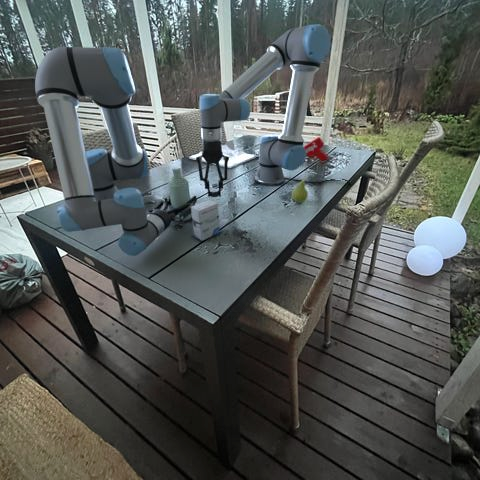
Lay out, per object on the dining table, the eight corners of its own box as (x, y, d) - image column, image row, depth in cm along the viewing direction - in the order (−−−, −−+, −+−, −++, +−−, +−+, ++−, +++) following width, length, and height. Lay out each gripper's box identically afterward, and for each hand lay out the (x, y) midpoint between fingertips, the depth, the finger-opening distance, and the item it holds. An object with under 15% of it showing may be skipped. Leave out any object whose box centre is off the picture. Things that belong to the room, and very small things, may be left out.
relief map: (230, 168, 162) (230, 159, 159) (189, 158, 180) (188, 150, 177) (256, 157, 180) (256, 149, 177) (216, 149, 198) (215, 142, 195)
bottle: (195, 213, 113) (189, 166, 102) (187, 222, 107) (181, 172, 96) (178, 211, 114) (171, 164, 104) (170, 219, 108) (162, 170, 98)
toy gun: (332, 156, 168) (319, 135, 164) (331, 158, 165) (319, 137, 161) (306, 172, 178) (294, 152, 174) (305, 174, 175) (293, 154, 171)
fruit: (288, 200, 123) (290, 174, 116) (302, 197, 125) (305, 172, 119) (296, 206, 118) (299, 179, 111) (310, 203, 120) (314, 177, 114)
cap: (207, 195, 117) (207, 191, 116) (213, 192, 120) (213, 187, 119) (215, 197, 115) (215, 192, 114) (221, 194, 118) (220, 189, 117)
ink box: (211, 227, 103) (209, 198, 96) (220, 232, 100) (219, 203, 93) (193, 236, 98) (190, 206, 91) (202, 241, 95) (199, 210, 88)
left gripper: (132, 228, 97) (166, 202, 116) (183, 237, 92) (210, 208, 110) (128, 209, 93) (163, 186, 112) (181, 217, 88) (208, 191, 106)
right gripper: (188, 141, 101) (194, 199, 114) (234, 141, 102) (234, 198, 115) (190, 137, 108) (195, 192, 120) (233, 137, 109) (233, 191, 121)
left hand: (186, 197), depth 111 cm, fingers closed on bottle, 8 cm apart
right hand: (214, 195), depth 118 cm, fingers closed on cap, 4 cm apart
